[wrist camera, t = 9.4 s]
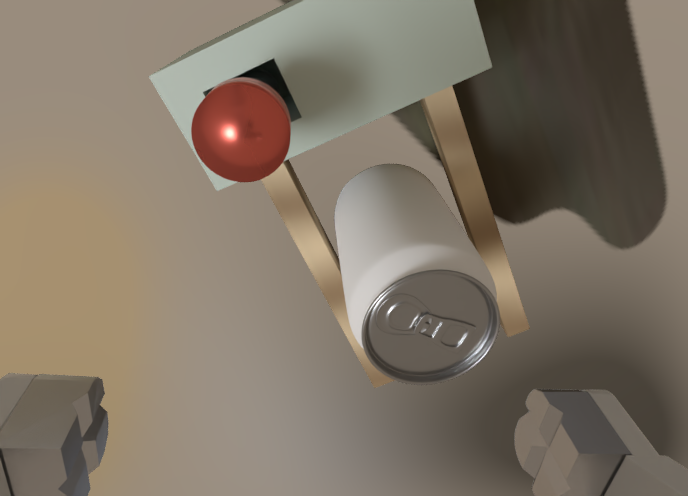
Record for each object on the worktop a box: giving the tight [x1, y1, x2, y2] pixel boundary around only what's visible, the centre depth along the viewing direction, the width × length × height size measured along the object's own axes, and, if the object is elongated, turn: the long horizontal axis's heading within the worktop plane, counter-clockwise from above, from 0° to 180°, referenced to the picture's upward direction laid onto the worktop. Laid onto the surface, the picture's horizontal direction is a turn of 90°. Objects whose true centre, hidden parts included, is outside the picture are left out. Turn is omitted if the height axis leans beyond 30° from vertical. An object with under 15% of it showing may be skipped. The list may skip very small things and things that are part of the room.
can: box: [334, 164, 500, 385], centre depth 26 cm, size 6×6×12 cm
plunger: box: [191, 69, 291, 182], centre depth 19 cm, size 3×3×8 cm
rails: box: [261, 86, 530, 388], centre depth 31 cm, size 17×11×2 cm, turn 23°
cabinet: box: [149, 0, 492, 191], centre depth 23 cm, size 5×12×8 cm, turn 114°
